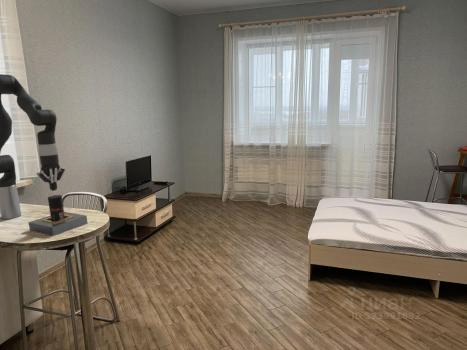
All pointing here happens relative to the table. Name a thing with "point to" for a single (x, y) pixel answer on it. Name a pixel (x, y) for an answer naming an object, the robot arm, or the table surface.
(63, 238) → the table surface
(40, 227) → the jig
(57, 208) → the deodorant
